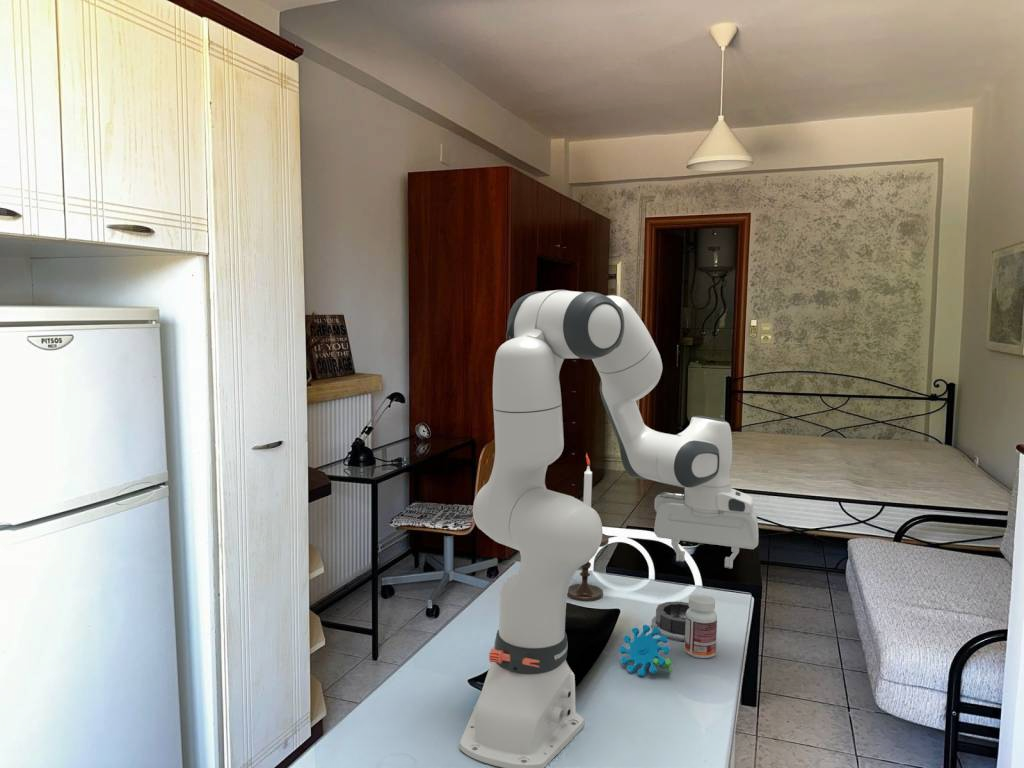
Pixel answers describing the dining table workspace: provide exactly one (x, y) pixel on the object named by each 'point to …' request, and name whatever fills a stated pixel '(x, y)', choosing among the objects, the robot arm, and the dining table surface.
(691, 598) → the pill bottle
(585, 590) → the candlestick
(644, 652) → the gear
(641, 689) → the dining table surface
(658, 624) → the notched hollow ring
